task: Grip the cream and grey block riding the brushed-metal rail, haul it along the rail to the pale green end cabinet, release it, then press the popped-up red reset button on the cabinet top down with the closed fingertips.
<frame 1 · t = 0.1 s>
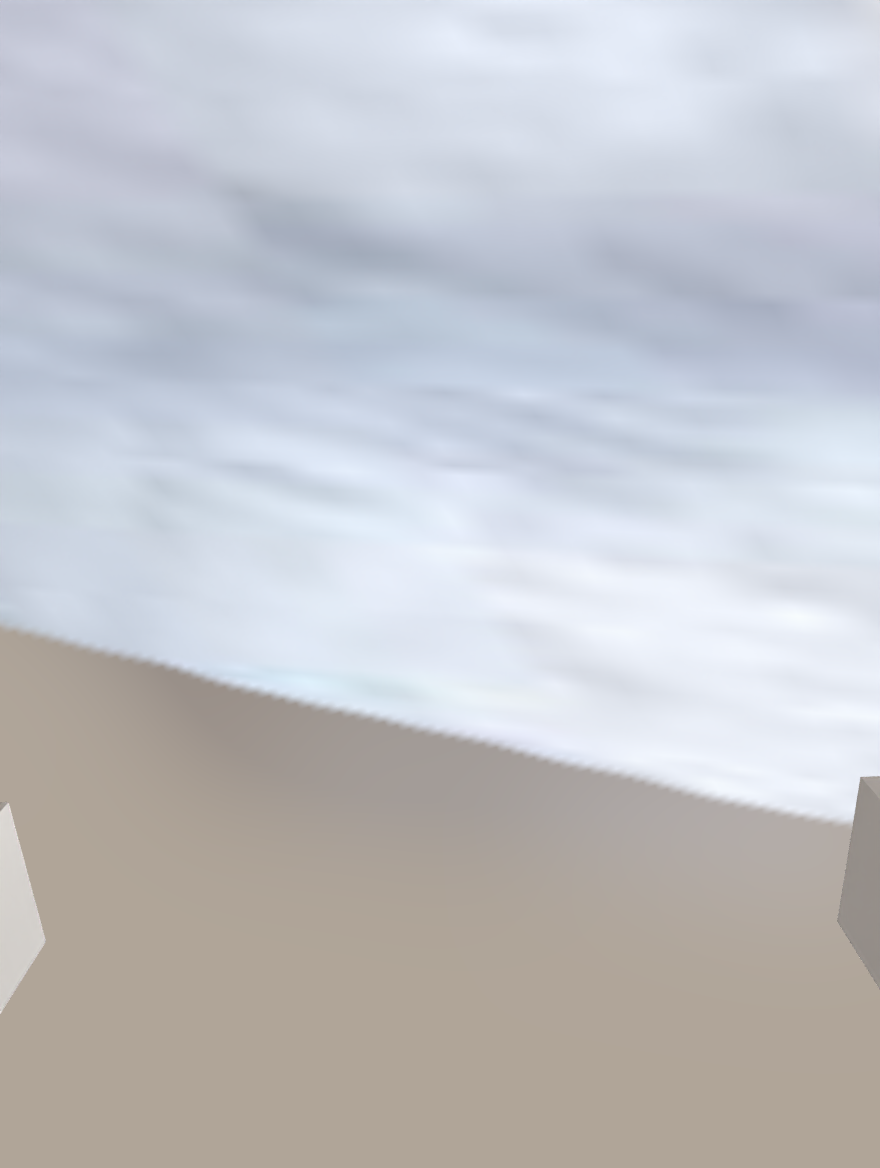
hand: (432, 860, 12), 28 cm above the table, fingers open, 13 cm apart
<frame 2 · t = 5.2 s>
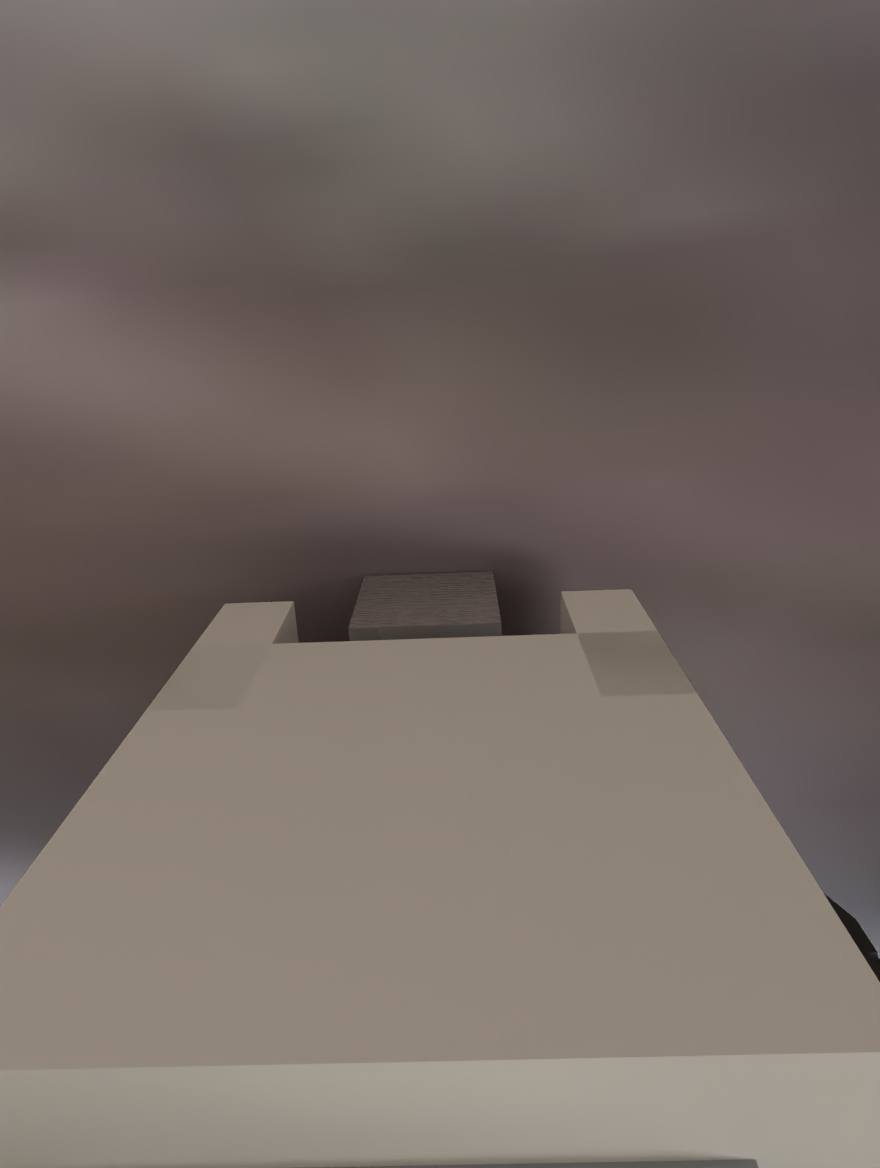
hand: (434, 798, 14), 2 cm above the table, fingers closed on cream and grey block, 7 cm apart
cream and grey block: (430, 967, 10), point 6 cm above the table, slide at 0.0 cm, touching gripper
rail: (449, 985, 18), on the table
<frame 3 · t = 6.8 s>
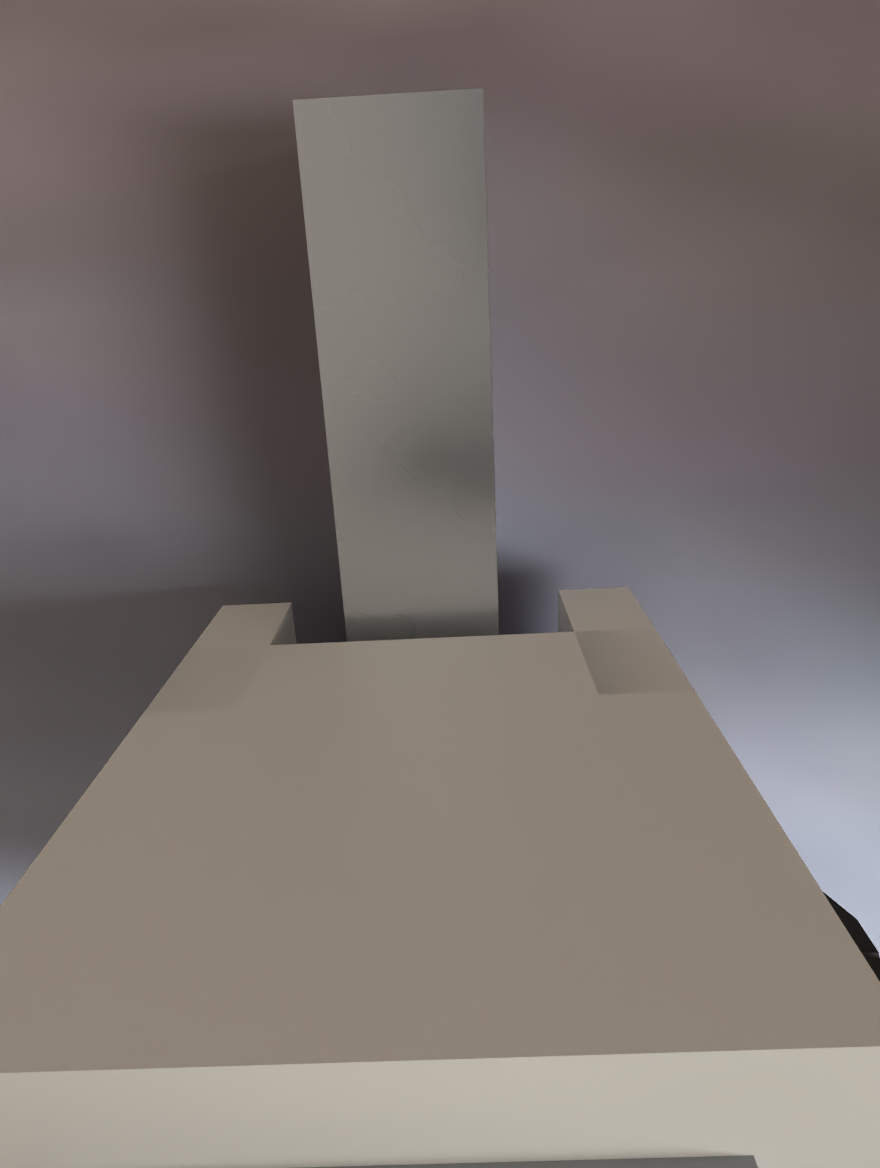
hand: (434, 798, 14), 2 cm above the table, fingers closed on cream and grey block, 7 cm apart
cream and grey block: (430, 967, 10), point 6 cm above the table, slide at 7.2 cm, touching gripper
rail: (434, 705, 16), on the table
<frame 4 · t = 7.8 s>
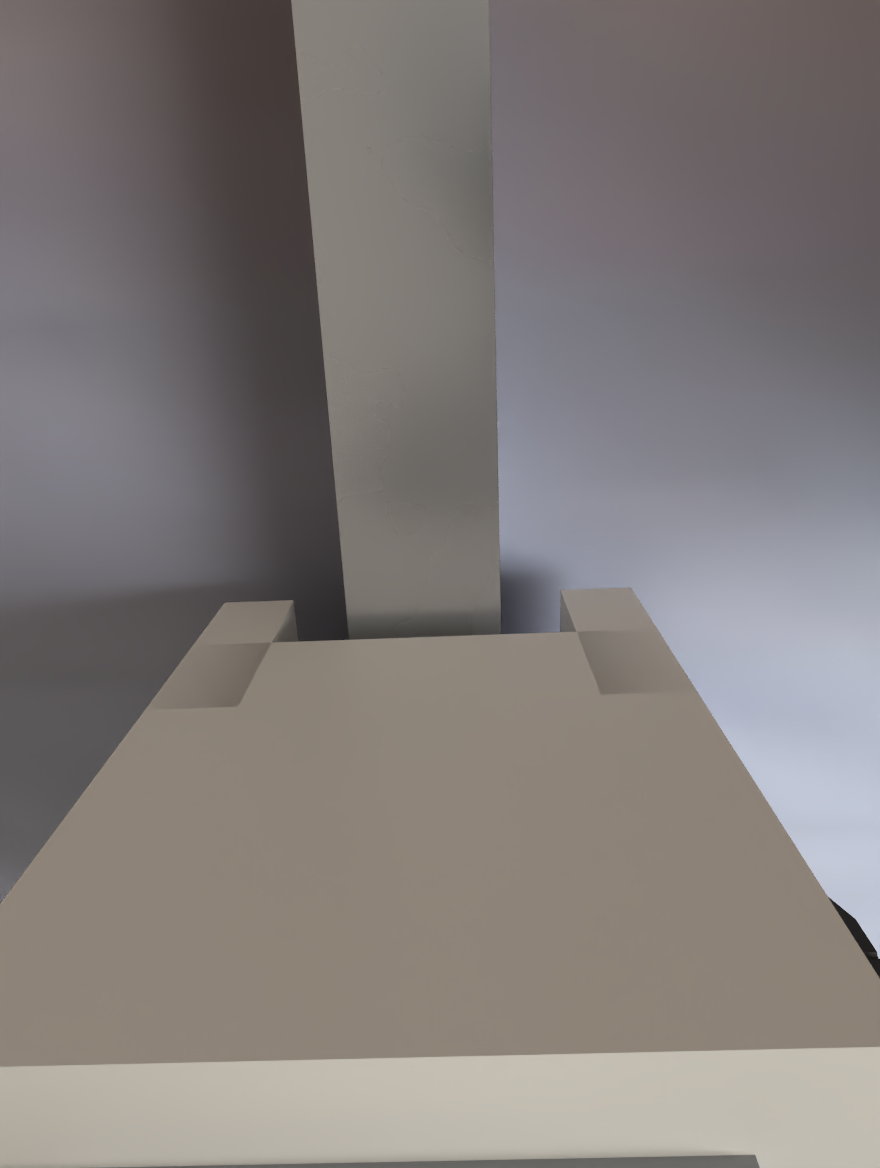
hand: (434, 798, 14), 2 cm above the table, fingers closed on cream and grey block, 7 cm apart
cream and grey block: (430, 965, 10), point 6 cm above the table, slide at 10.9 cm, touching gripper
rail: (425, 523, 14), on the table
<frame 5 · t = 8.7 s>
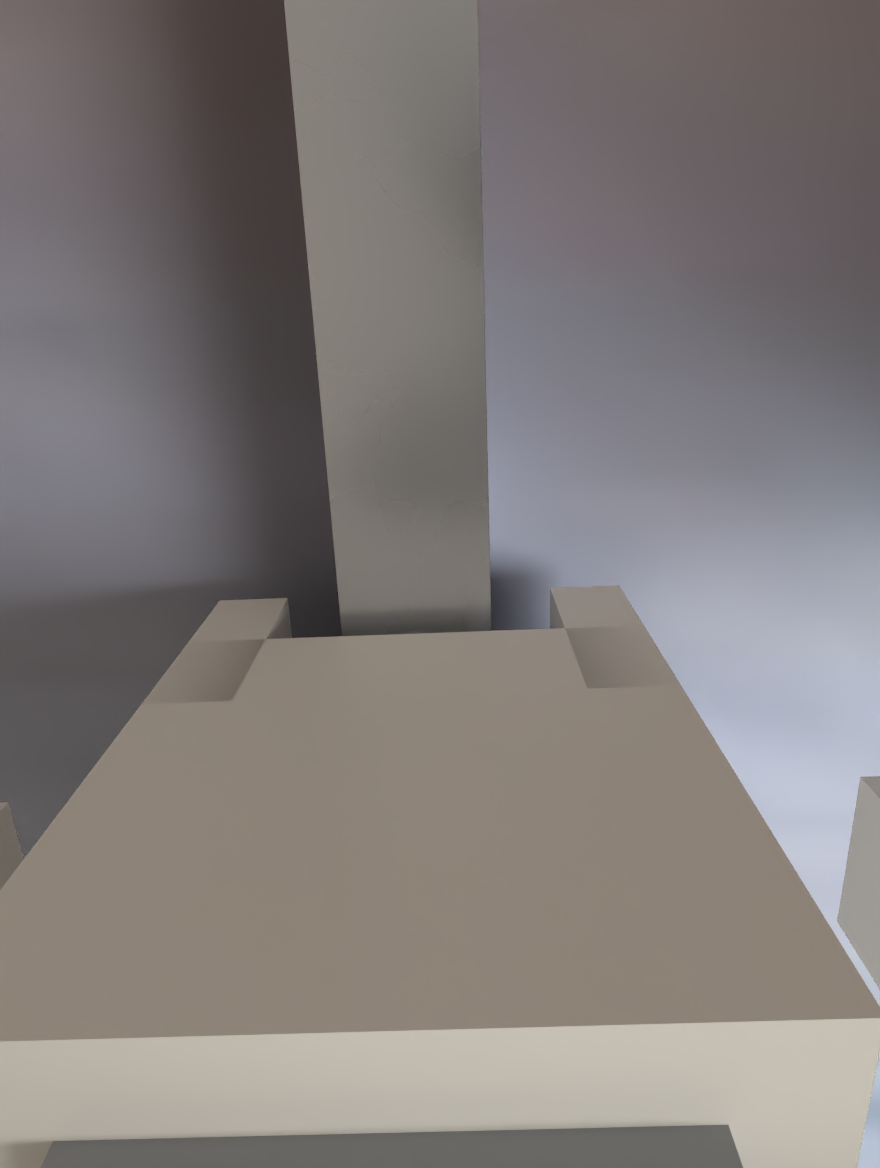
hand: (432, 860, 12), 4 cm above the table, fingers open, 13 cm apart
cream and grey block: (421, 954, 11), point 6 cm above the table, slide at 11.0 cm
rail: (417, 522, 15), on the table
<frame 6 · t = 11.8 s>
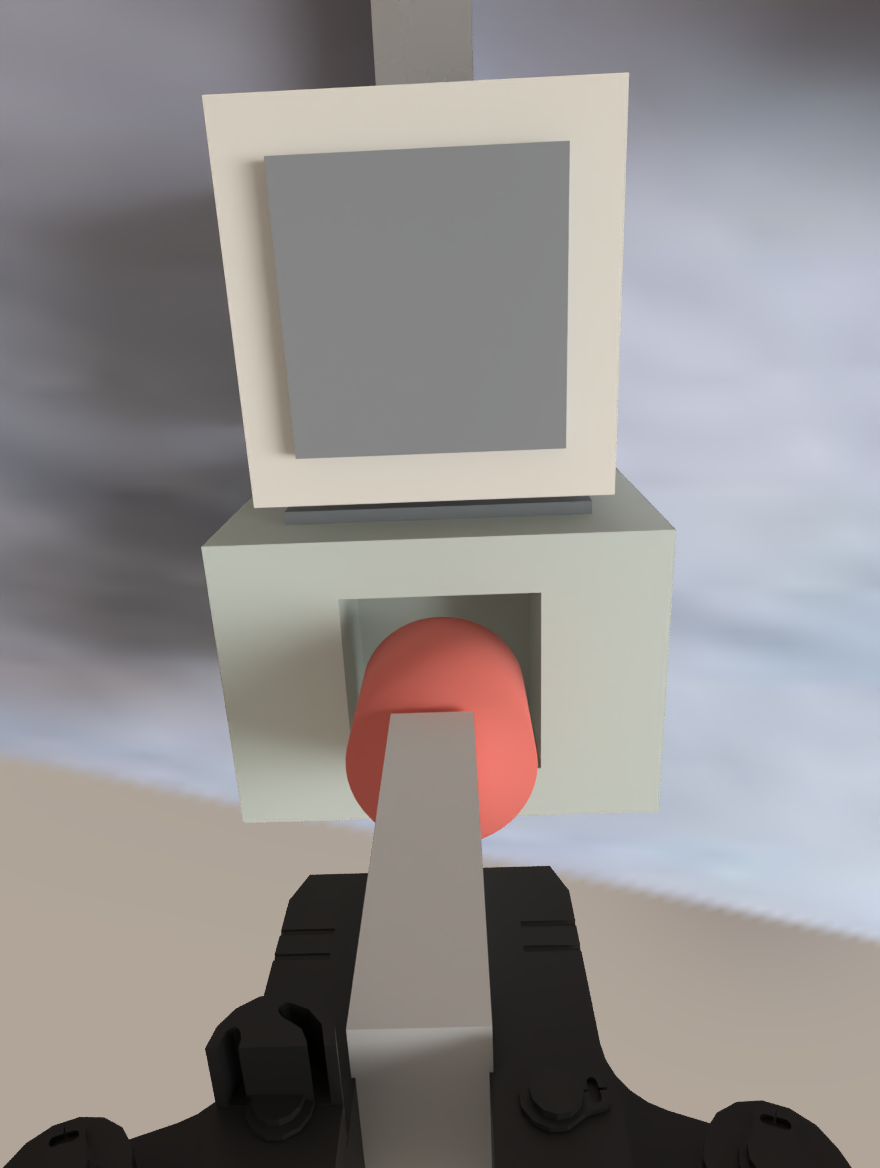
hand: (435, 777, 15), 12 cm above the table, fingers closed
reset button: (442, 725, 16), point 11 cm above the table, slide at 0.1 cm, touching gripper
end cabinet: (446, 561, 26), on the table
cream and grey block: (430, 307, 18), point 6 cm above the table, slide at 11.0 cm
rail: (428, 136, 22), on the table
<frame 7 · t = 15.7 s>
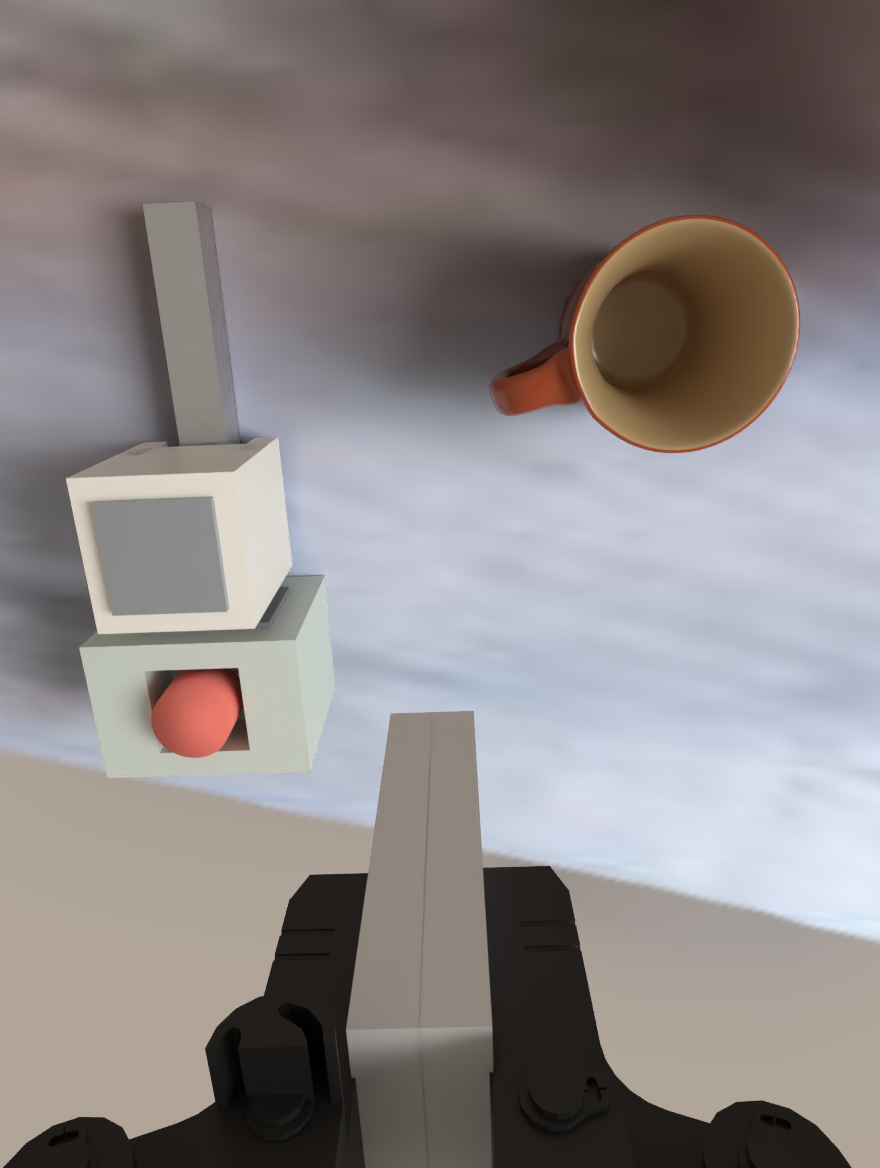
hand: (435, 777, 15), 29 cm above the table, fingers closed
reset button: (200, 708, 38), point 9 cm above the table, slide at 2.1 cm
end cabinet: (244, 635, 46), on the table
cream and grey block: (193, 529, 38), point 6 cm above the table, slide at 11.0 cm
rail: (214, 417, 41), on the table
mug: (596, 341, 40), on the table
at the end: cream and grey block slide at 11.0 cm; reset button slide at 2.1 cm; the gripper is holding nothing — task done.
